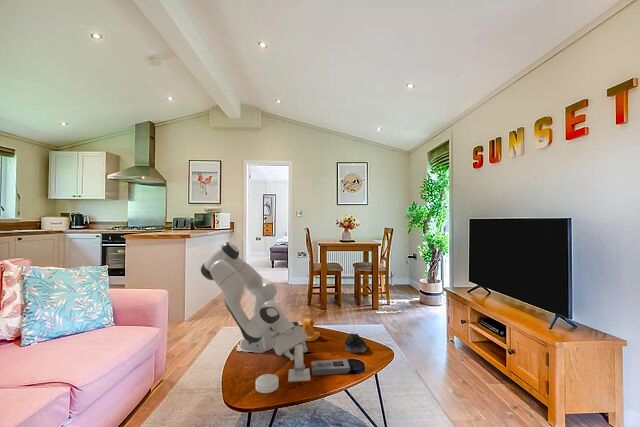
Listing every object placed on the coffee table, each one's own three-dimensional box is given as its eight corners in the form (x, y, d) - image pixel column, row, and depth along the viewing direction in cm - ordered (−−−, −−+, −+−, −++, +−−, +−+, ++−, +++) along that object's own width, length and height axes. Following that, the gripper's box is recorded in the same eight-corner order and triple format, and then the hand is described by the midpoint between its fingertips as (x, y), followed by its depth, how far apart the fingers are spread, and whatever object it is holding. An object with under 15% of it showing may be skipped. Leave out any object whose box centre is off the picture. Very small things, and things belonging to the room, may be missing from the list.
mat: (288, 381, 131) (288, 380, 131) (288, 370, 141) (288, 369, 141) (310, 380, 131) (310, 379, 131) (309, 369, 141) (309, 368, 141)
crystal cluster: (357, 343, 173) (354, 326, 174) (373, 349, 162) (370, 331, 163) (339, 351, 166) (337, 333, 166) (355, 357, 155) (352, 338, 155)
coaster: (277, 393, 122) (277, 384, 122) (253, 394, 122) (253, 386, 122) (279, 380, 132) (279, 372, 132) (257, 382, 132) (257, 374, 132)
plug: (293, 377, 133) (292, 348, 133) (293, 371, 139) (292, 343, 139) (305, 376, 133) (304, 348, 134) (305, 370, 139) (304, 343, 139)
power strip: (312, 375, 136) (311, 368, 136) (311, 366, 145) (311, 359, 145) (350, 373, 137) (350, 366, 137) (347, 364, 146) (346, 357, 146)
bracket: (309, 342, 174) (309, 322, 174) (300, 340, 178) (300, 320, 178) (320, 337, 182) (320, 317, 183) (311, 334, 187) (310, 315, 187)
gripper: (272, 333, 132) (288, 360, 126) (300, 320, 149) (316, 344, 143) (265, 341, 135) (281, 368, 129) (293, 327, 151) (309, 351, 145)
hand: (299, 355), depth 136 cm, fingers open, 8 cm apart
